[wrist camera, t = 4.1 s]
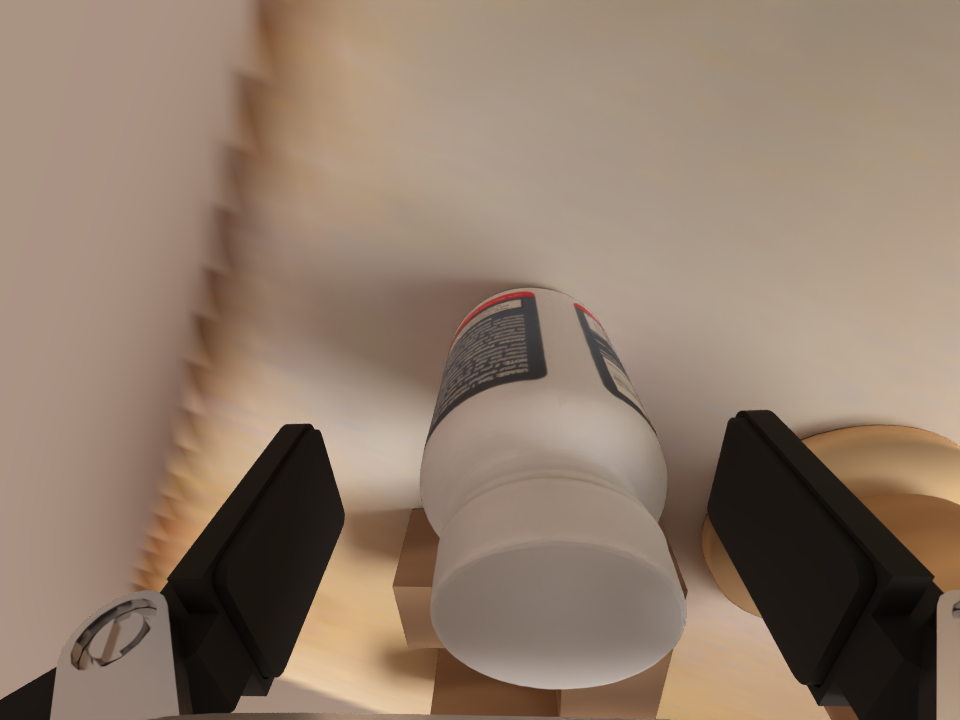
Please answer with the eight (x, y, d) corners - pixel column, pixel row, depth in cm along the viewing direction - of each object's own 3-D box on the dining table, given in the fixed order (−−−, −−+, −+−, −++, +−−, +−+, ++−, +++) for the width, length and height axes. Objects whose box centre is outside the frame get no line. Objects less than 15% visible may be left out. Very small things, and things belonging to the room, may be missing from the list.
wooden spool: (727, 427, 15) (965, 749, 7) (1039, 422, 14) (1695, 781, 6) (684, 601, 20) (800, 913, 12) (917, 605, 19) (1210, 945, 11)
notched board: (412, 509, 18) (392, 586, 15) (655, 508, 17) (687, 590, 14) (446, 684, 25) (437, 763, 22) (624, 690, 24) (641, 773, 21)
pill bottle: (437, 403, 16) (364, 678, 8) (468, 266, 13) (407, 464, 5) (577, 435, 16) (644, 732, 8) (633, 307, 13) (808, 553, 6)
